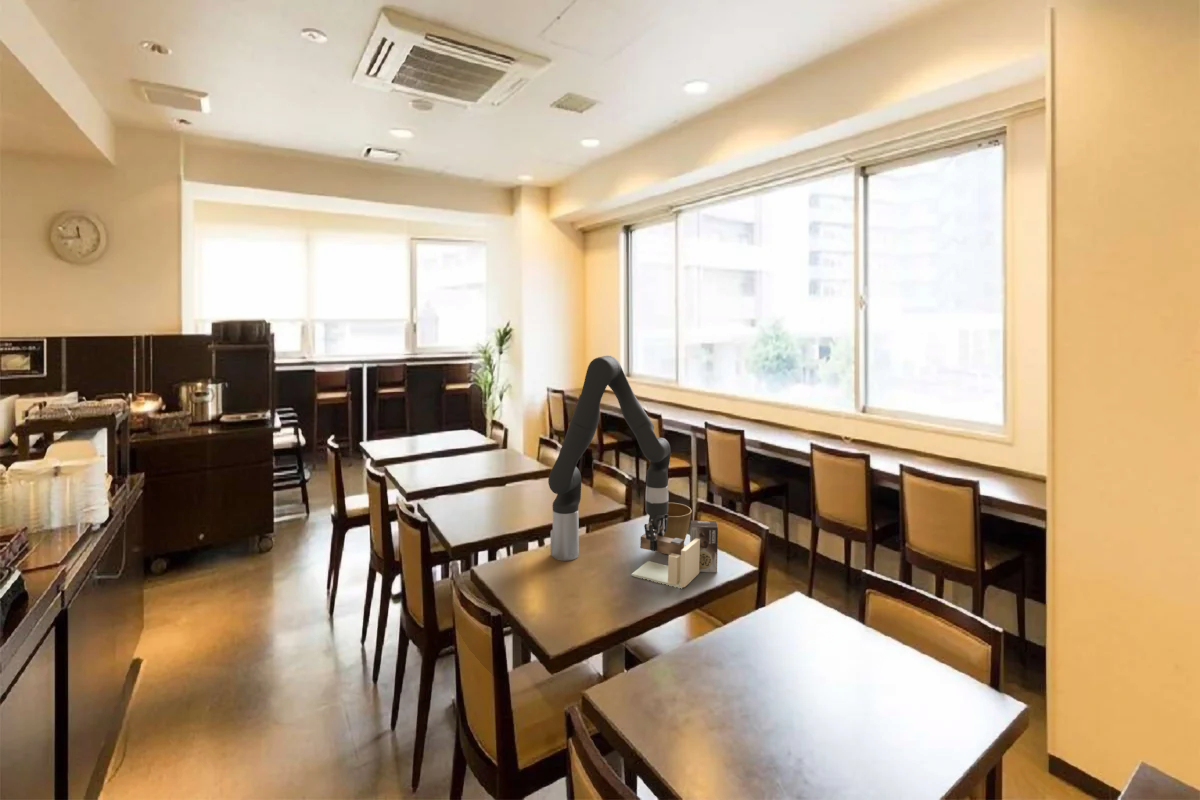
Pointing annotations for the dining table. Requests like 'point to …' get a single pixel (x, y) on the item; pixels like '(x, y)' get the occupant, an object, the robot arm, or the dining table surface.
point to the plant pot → (677, 521)
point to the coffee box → (706, 543)
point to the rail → (664, 544)
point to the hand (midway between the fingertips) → (656, 548)
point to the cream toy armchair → (674, 567)
